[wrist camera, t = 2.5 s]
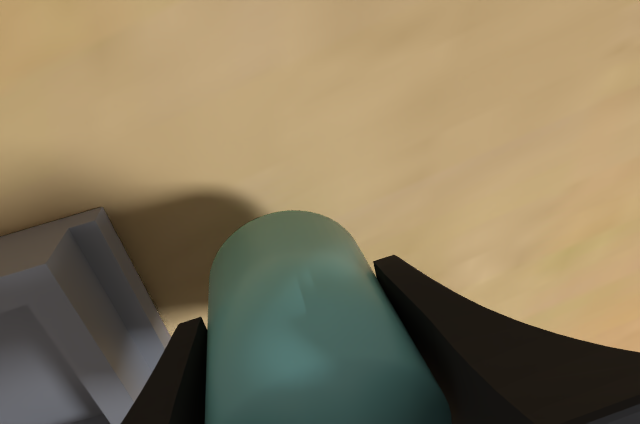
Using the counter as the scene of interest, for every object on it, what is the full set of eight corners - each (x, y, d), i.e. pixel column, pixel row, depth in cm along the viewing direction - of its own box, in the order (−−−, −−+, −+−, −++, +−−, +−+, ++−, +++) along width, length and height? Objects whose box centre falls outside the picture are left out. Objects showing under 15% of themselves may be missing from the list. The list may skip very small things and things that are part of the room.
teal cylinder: (374, 314, 15) (461, 486, 10) (237, 360, 15) (249, 564, 9) (346, 190, 13) (438, 323, 7) (184, 239, 12) (159, 417, 7)
